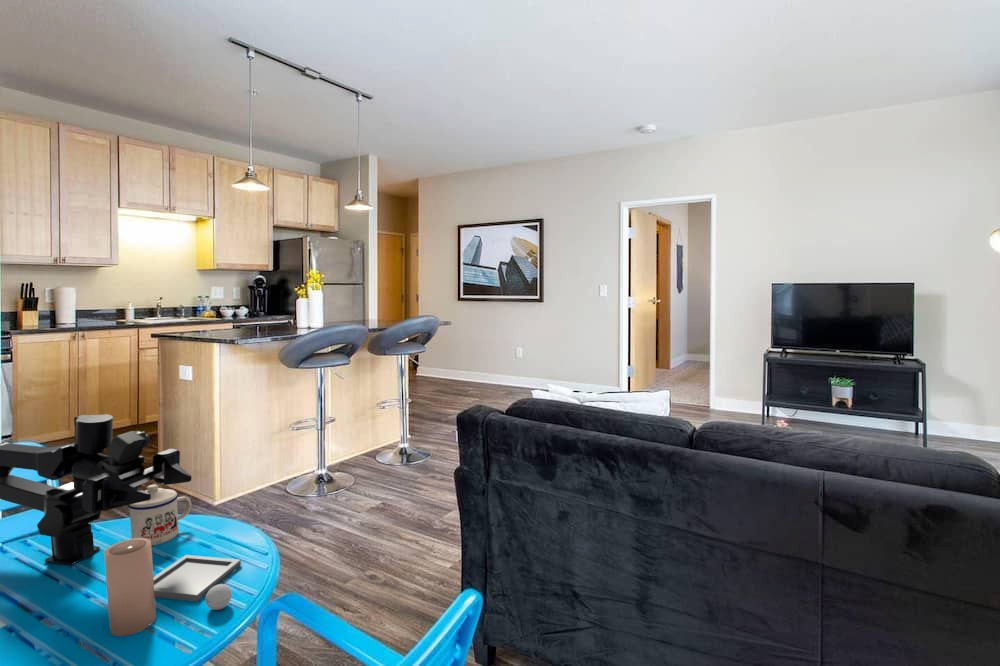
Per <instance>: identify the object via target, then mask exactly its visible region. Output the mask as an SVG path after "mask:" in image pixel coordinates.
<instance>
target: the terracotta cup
mask: <svg viewBox="0 0 1000 666" xmlns="http://www.w3.org/2000/svg"><path fill="white" fill-rule="evenodd" d="M103 555H104V557H103V558H104V569H105V583H106V584H105V585H106V594H107V607H108V608H107V609H108V622H109V631H110V634H111V635H113V636H116V637H125V636H130V635H135V634H136V633H139V632H142V631H144V630H146V629H147V628H149V627H150V626H149V624H151V623H152V624H154V622H155V621H156V619H157V615H156V613H157V609H156V597H155V594H154V579H153V577H154V569H153V567H154V566H153V553H152V546H151V541H150V540H149V539H146V538H134V539H132V538H129V539H125V540H122V541H119V542H116V543H114V544H112V545H110V546H108V547H107V548H106V549H105V550H104V551H103ZM152 624H151V625H152Z"/></svg>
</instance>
